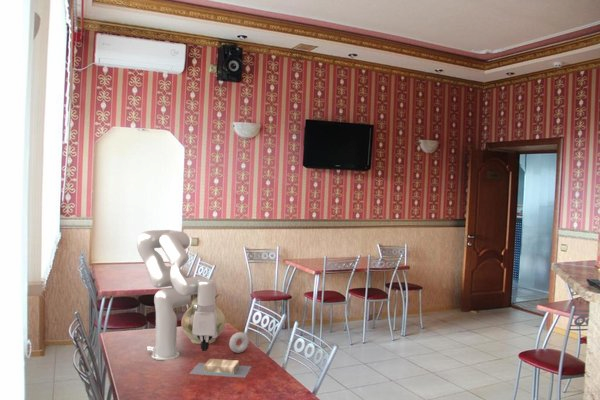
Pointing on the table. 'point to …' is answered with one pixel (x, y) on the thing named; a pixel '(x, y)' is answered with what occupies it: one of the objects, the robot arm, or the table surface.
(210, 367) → the tan rectangular package
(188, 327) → the pitcher
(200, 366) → the mat
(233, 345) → the donut
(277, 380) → the table surface
